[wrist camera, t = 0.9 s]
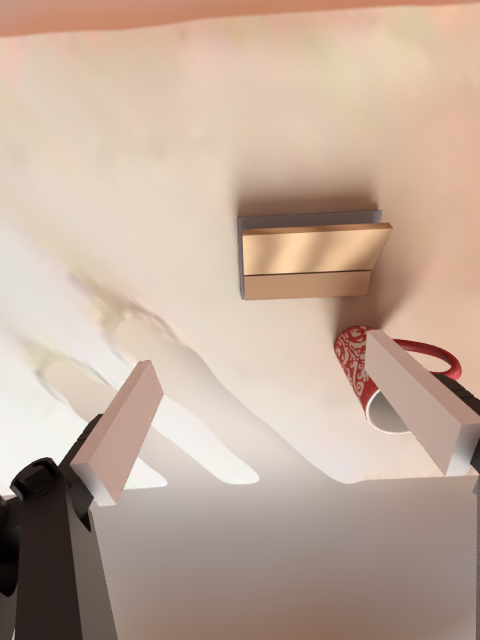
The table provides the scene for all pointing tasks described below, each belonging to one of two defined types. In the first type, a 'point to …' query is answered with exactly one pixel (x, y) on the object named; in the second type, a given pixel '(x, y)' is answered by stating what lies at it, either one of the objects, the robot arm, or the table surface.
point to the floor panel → (304, 281)
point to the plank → (313, 248)
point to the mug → (369, 395)
